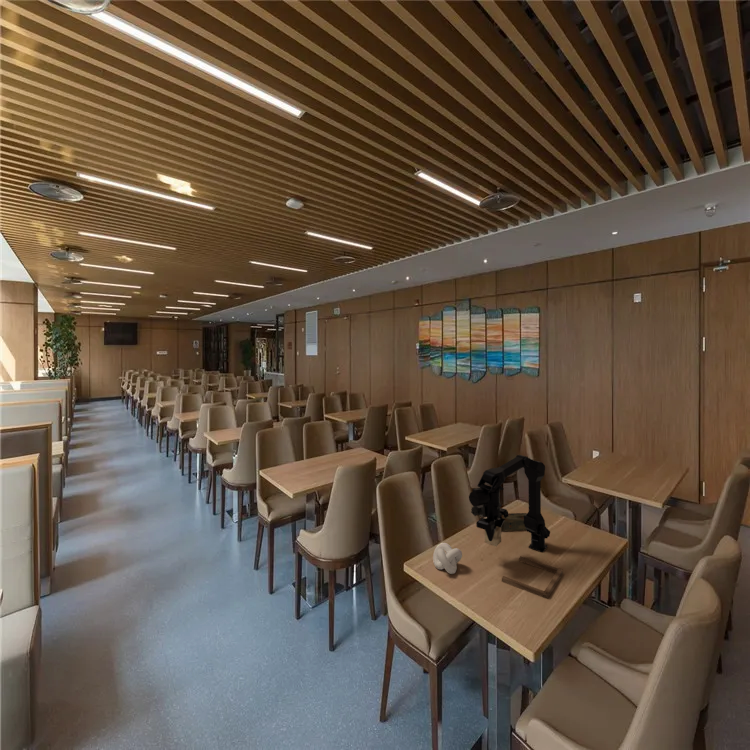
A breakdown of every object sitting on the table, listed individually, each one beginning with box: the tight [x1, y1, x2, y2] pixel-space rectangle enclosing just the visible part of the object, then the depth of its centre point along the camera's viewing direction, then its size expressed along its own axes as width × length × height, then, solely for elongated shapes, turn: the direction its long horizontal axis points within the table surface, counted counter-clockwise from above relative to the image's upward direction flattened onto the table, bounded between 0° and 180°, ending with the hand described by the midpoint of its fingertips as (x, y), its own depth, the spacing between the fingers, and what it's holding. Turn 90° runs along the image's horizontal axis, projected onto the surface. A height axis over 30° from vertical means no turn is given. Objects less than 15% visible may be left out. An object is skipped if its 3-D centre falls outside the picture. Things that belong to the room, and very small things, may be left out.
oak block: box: [484, 526, 502, 547], centre depth 153 cm, size 5×5×6 cm
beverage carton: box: [501, 512, 528, 533], centre depth 186 cm, size 8×19×7 cm, turn 94°
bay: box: [501, 556, 564, 600], centre depth 143 cm, size 20×16×2 cm
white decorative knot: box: [432, 542, 463, 575], centre depth 151 cm, size 11×12×9 cm
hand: (493, 538), depth 153 cm, fingers closed on oak block, 5 cm apart
